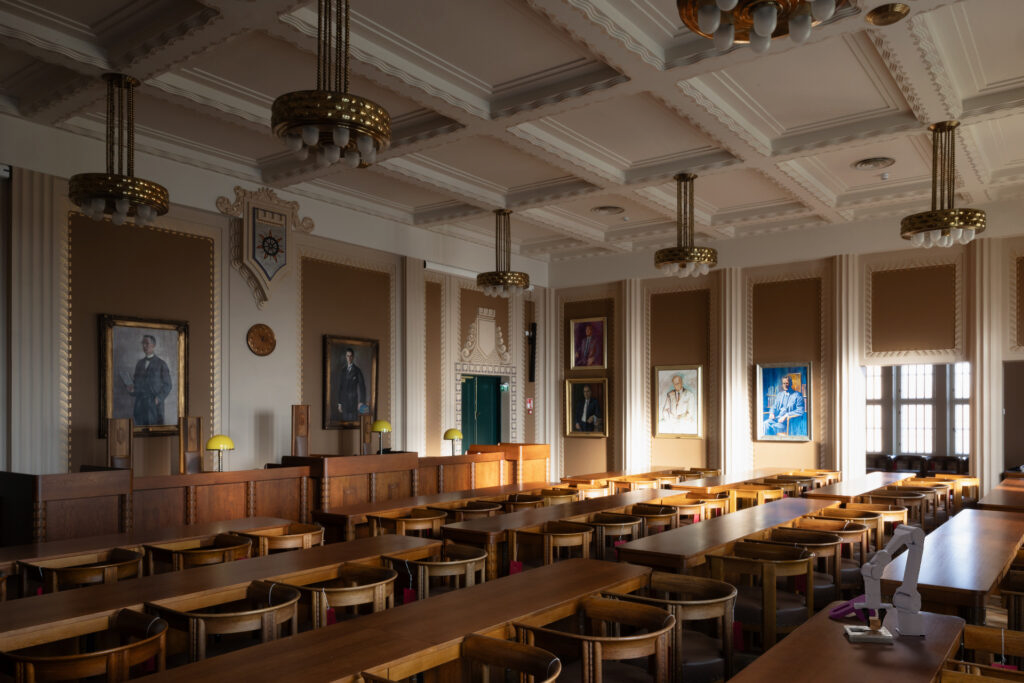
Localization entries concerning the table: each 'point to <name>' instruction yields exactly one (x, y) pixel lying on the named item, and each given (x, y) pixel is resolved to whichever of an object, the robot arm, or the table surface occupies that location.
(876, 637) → the keyhole plate
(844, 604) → the mounting bracket
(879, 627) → the keyhole peg
